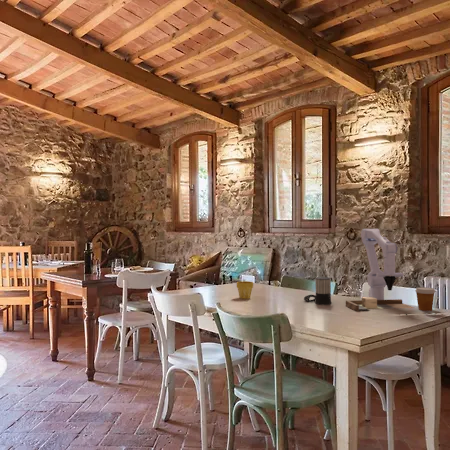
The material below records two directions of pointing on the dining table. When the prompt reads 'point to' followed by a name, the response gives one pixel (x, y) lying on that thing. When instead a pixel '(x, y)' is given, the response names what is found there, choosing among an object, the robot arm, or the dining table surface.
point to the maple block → (369, 302)
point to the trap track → (381, 304)
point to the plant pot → (244, 289)
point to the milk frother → (321, 291)
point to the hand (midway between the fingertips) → (389, 290)
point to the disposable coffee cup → (425, 298)
